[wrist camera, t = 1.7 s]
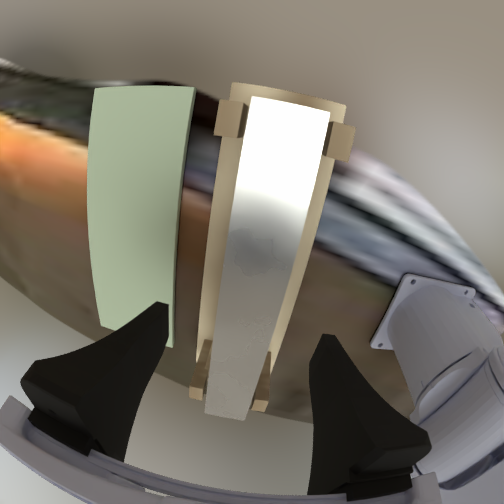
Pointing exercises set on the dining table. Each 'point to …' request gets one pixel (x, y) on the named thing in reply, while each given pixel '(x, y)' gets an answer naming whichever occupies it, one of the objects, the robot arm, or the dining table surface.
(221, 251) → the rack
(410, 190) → the dining table surface
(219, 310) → the rail
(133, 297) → the mat
